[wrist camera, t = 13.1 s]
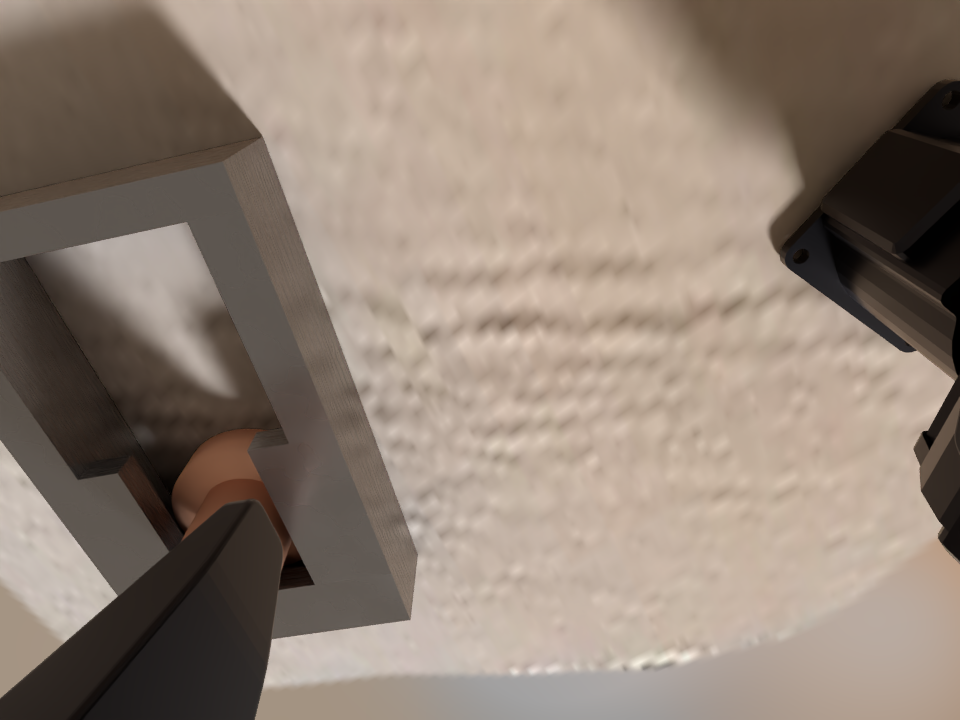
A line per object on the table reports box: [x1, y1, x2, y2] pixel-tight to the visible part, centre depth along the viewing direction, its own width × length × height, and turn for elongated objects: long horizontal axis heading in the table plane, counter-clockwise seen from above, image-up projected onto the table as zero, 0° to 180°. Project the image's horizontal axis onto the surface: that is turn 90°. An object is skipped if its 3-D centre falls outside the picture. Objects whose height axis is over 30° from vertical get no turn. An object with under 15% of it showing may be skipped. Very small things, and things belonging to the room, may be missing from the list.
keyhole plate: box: [0, 137, 418, 639], centre depth 22 cm, size 18×11×3 cm, turn 11°
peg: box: [171, 429, 302, 570], centre depth 20 cm, size 6×6×13 cm
